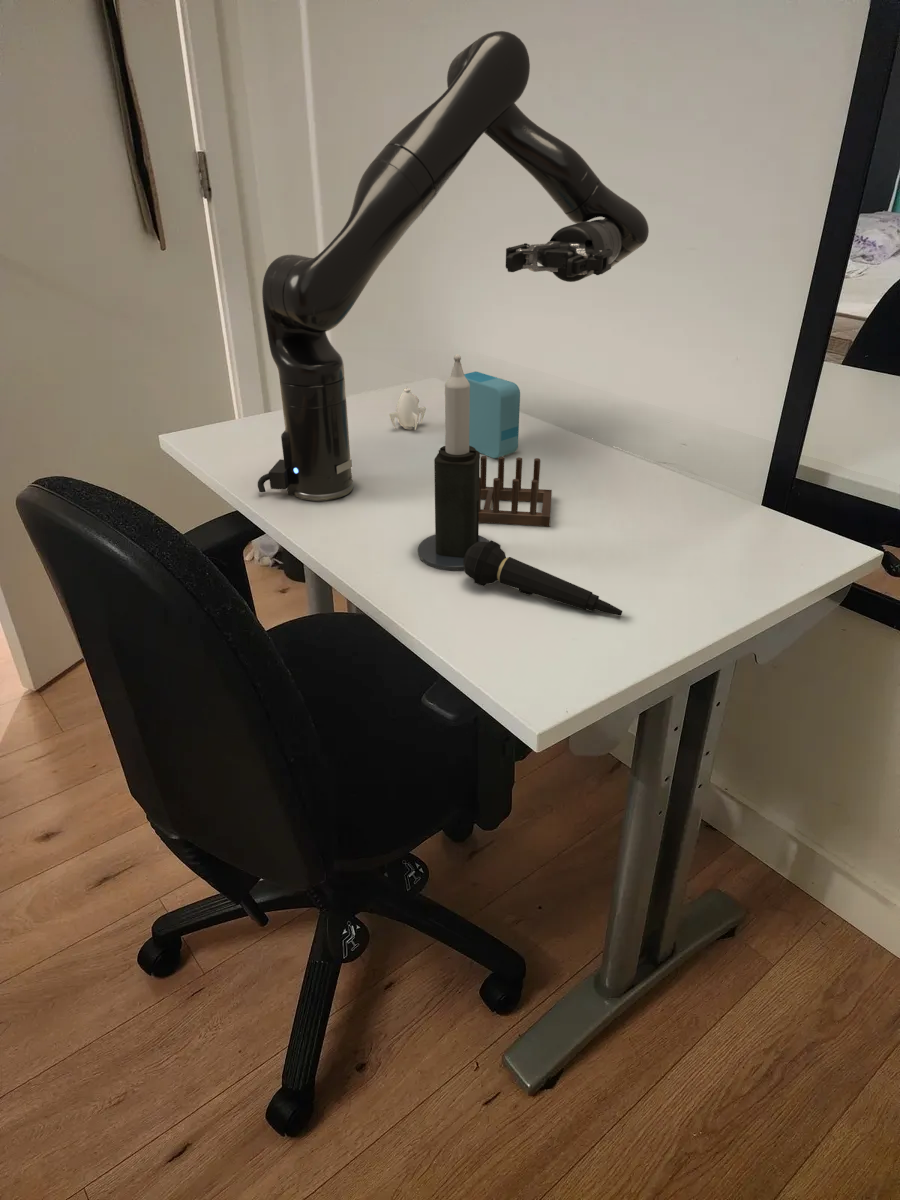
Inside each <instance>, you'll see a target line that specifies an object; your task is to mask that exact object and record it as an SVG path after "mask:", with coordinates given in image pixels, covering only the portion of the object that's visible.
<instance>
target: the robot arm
mask: <svg viewBox="0 0 900 1200" xmlns="http://www.w3.org/2000/svg"><path fill="white" fill-rule="evenodd" d="M530 73H531V62H530V55H529V52H528V48H527V46H526V45H525V43H524V42H523V41H522V39H521V38H519V37H518V36H517V35H515V34H514V33H511V32H509V31H505V30H497V31H492V32H489V33H486V34H483V35H482V36H480V37H479V38H478V39H476V40H475V41H473V42H472V43H471V44H469V45H468V46H466V47H465V48H464V49H463V50H462V51H460V52H459V53H458V54H457V55H456V56H455V57H454V58H453V59H452V60H451V63H450V64H449V66H448V69H447V75H446V83H447V84H446V85H447V89H446V90H444V92H443V93H442V94H441V95H440V96H439V97H438V98H437V99H435V101H434V102H433V103H431V105H429V106H428V107H427V108H425V109H424V110H423V111H422V112H421V113H419V114H418V115H416V116H415V117H414V118H413V119H412V120H411V121H409V123H408V124H406V125H405V126H404V127H403V128H402V129H401V130H400V131H398V132H397V134H395V135H394V136H393V138H391V140H390V141H389V142H388V143H387V144H386V145H385V146H384V147H383V148H382V150H381V151H380V152H379V153H378V154H377V155H376V156H375V158H374V159H373V160H372V161H371V162H370V163H369V165H368V167H367V168H366V169H365V171H364V172H363V173H362V175H361V177H360V180H359V181H358V185H357V188H356V191H355V194H354V198H353V202H352V208H351V211H350V214H349V216H348V219H347V221H346V222H345V224H344V226H343V227H342V228H341V230H340V231H339V232H338V234H337V235H336V236H335V237H334V238H333V239H332V241H330V242H329V244H328V245H327V246H326V247H325V248H324V249H323V250H322V251H321V252H320V253H319V254H318V255H316V256H314V257H309V256H305V255H300V254H284V255H280V256H278V257H277V258H275V259H274V260H272V262H271V263H269V265H268V267H267V268H266V270H265V273H264V276H263V280H262V287H261V288H262V289H261V294H262V295H261V296H262V307H263V315H264V322H265V326H266V333H267V334H266V335H267V339H268V345H269V350H270V354H271V357H272V360H273V362H274V364H275V366H276V368H277V371H278V380H279V388H280V397H281V406H282V413H283V422H284V431H283V432H282V433H281V435H280V439H281V448H282V457H283V459H278V461H276V463H275V464H274V465H273V467H271V469H270V470H269V471H268V473H264V474H263V475H262V476H260V477H259V478H258V480H257V489H258V492H259V493H265V492H266V488H265V483H266V482H267V481H269V487H270V489H271V490H282V491H283V490H287V491H286V492H287V496H294V497H296V498H298V499H302V500H305V501H312V502H313V501H315V502H321V501H322V502H324V501H331V500H337V499H340V498H342V497H345V496H347V495H349V494H350V493H351V492H352V491H353V489H354V480H353V473H352V468H353V460H352V459H351V446H350V435H349V434H350V433H349V419H348V417H349V416H348V403H347V392H346V378H345V363H344V359H343V357H342V355H341V354H340V353H339V352H338V351H337V350H336V348H335V347H334V346H333V344H332V343H331V341H330V340H329V339H330V338H328V335H327V332H329V331H331V330H333V329H334V328H336V327H337V326H339V324H340V323H341V322H343V320H344V319H345V318H346V317H347V315H348V314H349V312H350V311H351V309H352V308H353V307H354V305H355V304H356V302H357V301H358V299H359V297H360V296H361V294H362V293H363V291H364V290H365V288H366V286H367V285H368V284H369V282H370V280H371V278H372V277H373V275H374V274H375V273H376V271H377V269H378V268H379V267H380V265H381V264H382V263H383V262H384V260H385V259H386V258H387V257H388V256H389V255H390V253H391V252H392V251H393V249H394V248H395V246H397V244H398V243H399V241H400V240H401V239H402V238H403V237H404V235H405V234H406V233H407V231H408V230H409V229H410V228H411V227H412V225H414V223H415V222H416V221H417V220H418V219H419V218H420V217H421V215H422V214H423V213H424V212H425V211H426V209H427V208H428V207H429V205H431V203H432V202H433V201H434V200H435V198H436V197H437V196H438V194H439V193H440V192H441V190H442V189H443V188H444V186H445V185H446V184H447V182H448V181H449V180H450V178H451V177H452V175H454V173H455V172H456V170H457V169H458V168H459V166H460V165H461V163H462V162H463V161H464V159H465V158H466V157H467V155H468V154H469V152H470V151H471V149H472V148H473V146H474V145H475V144H476V143H477V142H478V140H479V139H480V138H481V137H482V135H483V134H484V135H486V136H487V137H489V138H490V139H491V140H492V141H493V142H494V143H495V144H497V145H498V146H499V147H500V148H501V149H502V150H503V151H504V152H505V153H506V154H507V155H509V156H510V157H511V158H512V159H514V161H516V162H517V163H518V164H519V165H520V166H521V167H522V168H524V169H525V171H526V172H528V173H529V174H530V175H531V176H532V177H533V179H535V181H536V182H537V183H538V184H539V185H540V186H541V187H542V189H543V190H544V191H545V192H546V193H547V194H548V195H549V197H550V198H551V199H552V200H553V202H555V204H556V205H557V206H558V207H559V208H560V210H561V211H562V213H564V215H565V216H566V218H568V219H569V220H570V221H571V222H572V223H574V224H570V225H567V226H563V227H561V228H560V229H558V230H557V231H556V232H554V234H553V235H551V236H552V237H550V239H549V241H547V242H546V243H536V244H529V243H527V242H525V243H522V244H518V245H514V246H508V247H506V248H505V269H506V270H507V272H508V273H515V272H518V271H522V270H527V269H528V271H531V272H535V273H536V272H537V273H538V272H549V273H552V274H553V275H554V276H555V277H556V278H557V279H559V280H560V281H562V282H568V283H575V282H579V281H581V280H583V279H585V278H587V277H590V276H592V275H595V276H600V275H603V274H605V273H607V272H608V271H610V270H611V269H612V267H614V266H616V265H618V263H620V262H621V261H622V260H624V259H625V258H627V257H628V256H629V255H631V254H633V253H634V252H636V250H638V249H639V248H641V247H642V246H644V244H646V242H647V240H648V238H649V233H650V232H649V231H650V230H649V223H648V221H647V219H646V217H645V215H644V214H643V212H641V211H640V209H638V208H637V207H636V206H634V204H632V203H630V202H629V201H628V200H626V199H624V198H623V197H621V196H619V195H618V194H617V193H615V192H614V191H613V190H612V189H610V188H609V187H608V186H606V185H605V184H604V183H603V181H602V180H601V179H600V178H599V177H598V175H597V174H596V173H595V172H594V170H593V169H592V168H591V166H590V165H589V164H588V163H587V162H586V160H585V159H584V158H583V157H582V155H580V154H579V153H578V151H576V150H575V149H574V148H572V146H570V145H569V144H567V143H566V142H565V141H562V140H561V139H560V138H558V137H557V136H555V135H553V134H552V133H550V132H548V131H546V130H545V129H543V128H542V127H540V126H539V125H537V124H536V123H535V122H534V121H532V120H531V119H530V118H529V117H528V116H527V115H526V114H525V113H523V111H522V110H521V109H520V108H519V107H518V105H517V104H516V102H518V101H519V99H520V98H521V97H522V96H523V94H524V91H525V90H526V88H527V85H528V82H529V79H530ZM596 218H600V219H596ZM602 218H603V219H602ZM593 219H594V220H593ZM590 220H591V221H590ZM538 264H539V265H538Z"/></svg>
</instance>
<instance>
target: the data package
mask: <svg viewBox="0 0 900 1200" xmlns="http://www.w3.org/2000/svg"><path fill="white" fill-rule="evenodd" d="M464 376H465V377H466V379H467V380H468V382H469V384H470V418H469V446H472V447H474V448H475V449H476V450H477V451H478V452H479V453H480V455H483V456H486V457H489V458H492V459H498V458H499V457H505V456H508V455H511V454H513V453H516V452H517V450H518V448H519V435H520V433H519V431H520V410H521V407H520V406H521V389H520V388H519V386H518V385H517V384H516V383H515V382H513V381H510V380H507V379H503V378H500V377H497V376H494V375H489V374H486V373H483V372H480V371H472V372H467V373H464Z"/></svg>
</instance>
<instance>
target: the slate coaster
mask: <svg viewBox="0 0 900 1200" xmlns="http://www.w3.org/2000/svg"><path fill="white" fill-rule="evenodd" d="M489 541H490V539H487V538H486V537H484V536H482V535H479V534H478V542H489ZM417 556H418V558H419V559H420V560H421V562H423V563H424V564H426V565H427V566H429V567H432V568H435V569H437V570H438V569H439V570H443V571H453V572H455V571H458V572H459V571H465V569H464V565H463V560H464V558H461V557H451V556H442V555H438V554H437V553H436V541H435V534H432V535H430V536H428V537H426V538H424V539H423V540H421V542H420V543H419V544H418V546H417Z"/></svg>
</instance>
